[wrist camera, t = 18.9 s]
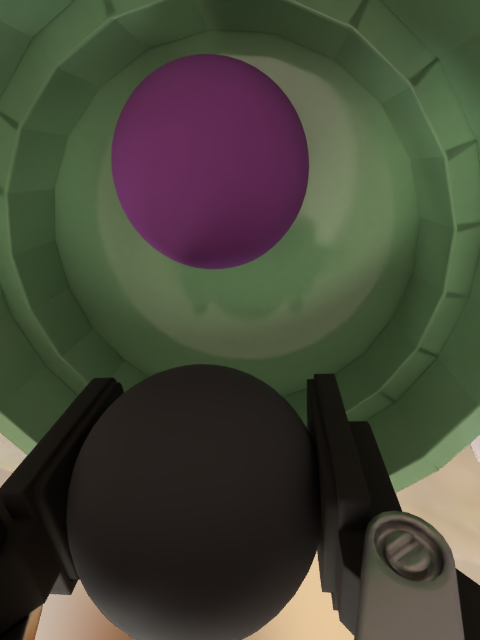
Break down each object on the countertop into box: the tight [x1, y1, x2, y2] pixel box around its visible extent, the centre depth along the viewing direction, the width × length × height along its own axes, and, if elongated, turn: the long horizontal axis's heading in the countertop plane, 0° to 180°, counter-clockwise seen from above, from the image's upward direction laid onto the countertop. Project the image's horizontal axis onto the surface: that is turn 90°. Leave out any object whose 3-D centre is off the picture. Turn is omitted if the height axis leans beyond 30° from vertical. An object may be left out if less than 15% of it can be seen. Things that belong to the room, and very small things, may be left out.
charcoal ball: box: [66, 364, 321, 640], centre depth 8 cm, size 6×6×6 cm
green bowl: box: [0, 0, 480, 493], centre depth 12 cm, size 18×18×6 cm
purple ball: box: [111, 54, 309, 269], centre depth 10 cm, size 6×6×6 cm
